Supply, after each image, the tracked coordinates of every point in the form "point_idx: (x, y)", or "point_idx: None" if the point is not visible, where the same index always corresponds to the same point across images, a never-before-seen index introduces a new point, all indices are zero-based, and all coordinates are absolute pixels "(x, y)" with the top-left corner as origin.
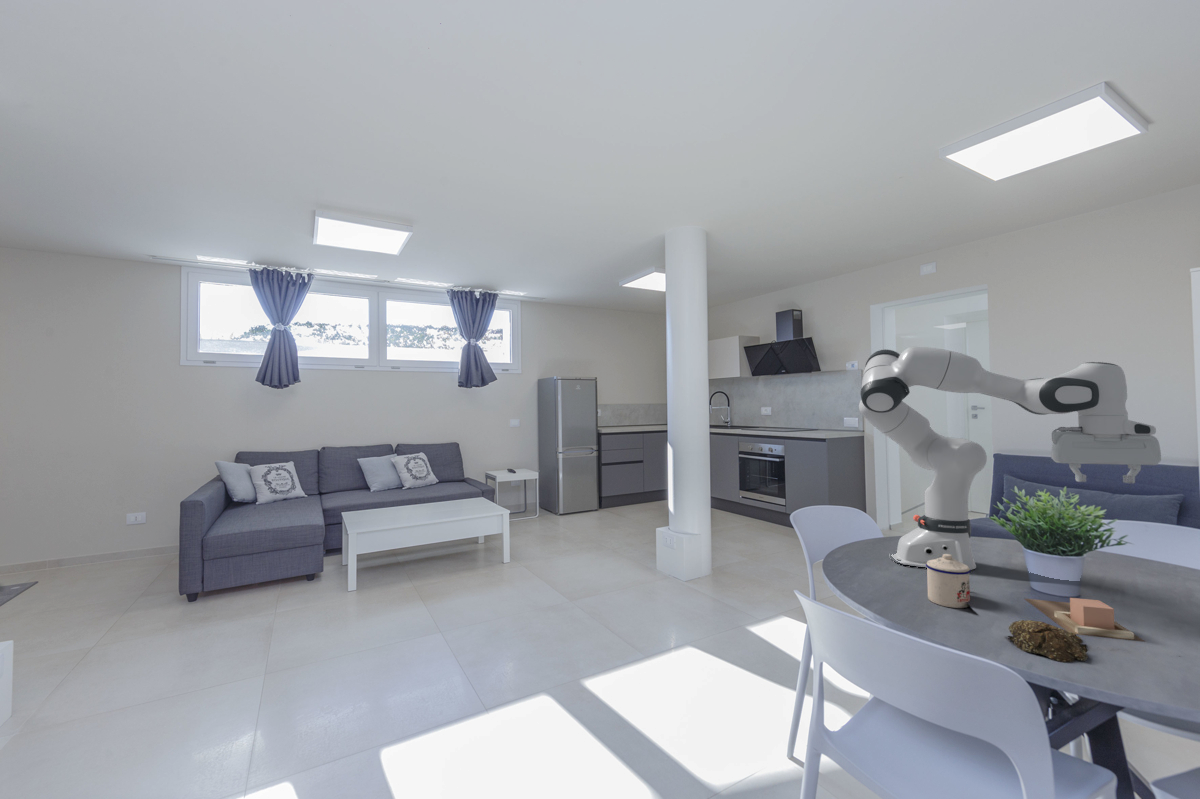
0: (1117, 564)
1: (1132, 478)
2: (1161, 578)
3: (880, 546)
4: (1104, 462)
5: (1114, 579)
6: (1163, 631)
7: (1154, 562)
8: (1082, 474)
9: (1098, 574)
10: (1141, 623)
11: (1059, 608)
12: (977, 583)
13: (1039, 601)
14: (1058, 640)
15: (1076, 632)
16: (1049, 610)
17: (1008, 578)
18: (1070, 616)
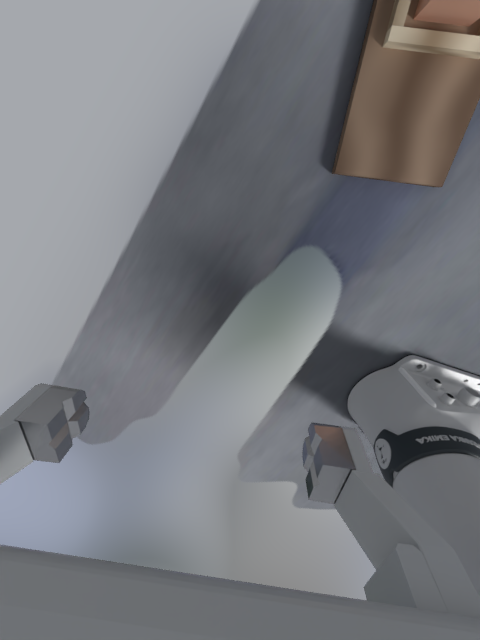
0: (122, 417)
1: (29, 405)
2: (97, 365)
3: None
4: (178, 599)
5: (167, 353)
6: (267, 65)
7: None
8: (321, 490)
9: (176, 373)
10: (277, 112)
11: (418, 127)
12: (423, 304)
13: (423, 171)
14: None
15: None
16: (453, 106)
17: (339, 338)
18: (476, 20)
